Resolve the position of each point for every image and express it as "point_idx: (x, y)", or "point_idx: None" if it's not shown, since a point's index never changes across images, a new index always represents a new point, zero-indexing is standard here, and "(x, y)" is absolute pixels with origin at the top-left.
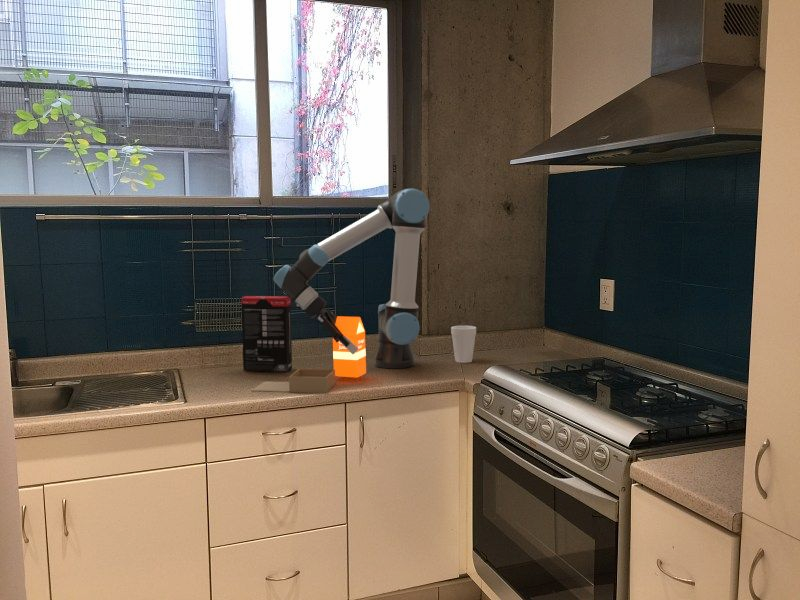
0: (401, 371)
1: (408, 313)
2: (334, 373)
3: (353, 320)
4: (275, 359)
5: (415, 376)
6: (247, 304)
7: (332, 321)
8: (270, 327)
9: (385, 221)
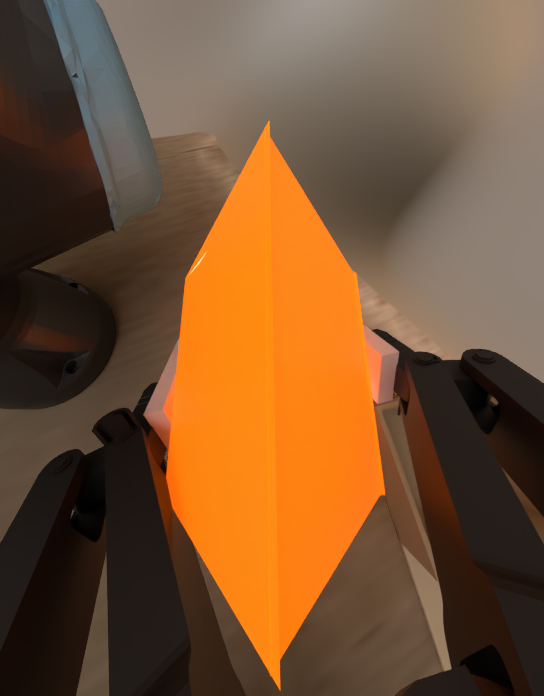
0: (145, 291)
1: None
2: (381, 403)
3: (299, 248)
4: None
5: (197, 241)
6: None
7: (534, 581)
8: None
9: None
